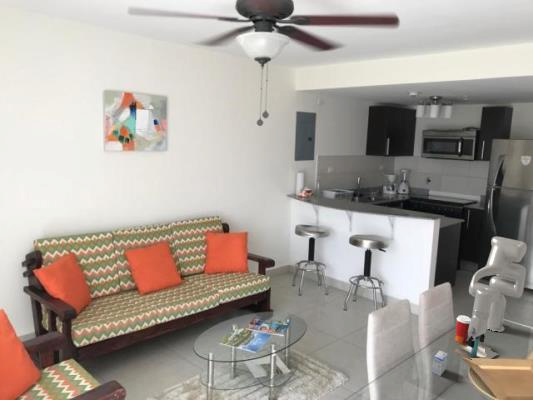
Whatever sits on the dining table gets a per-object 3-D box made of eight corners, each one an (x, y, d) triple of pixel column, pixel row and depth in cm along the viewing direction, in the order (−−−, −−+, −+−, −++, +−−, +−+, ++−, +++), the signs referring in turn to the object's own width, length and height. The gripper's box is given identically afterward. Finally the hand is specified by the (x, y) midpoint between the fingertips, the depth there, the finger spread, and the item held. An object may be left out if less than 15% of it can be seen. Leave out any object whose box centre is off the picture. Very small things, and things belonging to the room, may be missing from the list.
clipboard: (472, 343, 240) (473, 340, 240) (498, 355, 229) (498, 352, 229) (454, 351, 230) (455, 348, 229) (480, 364, 219) (481, 361, 218)
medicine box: (436, 366, 214) (439, 350, 213) (445, 369, 211) (448, 353, 210) (431, 372, 208) (433, 356, 206) (440, 376, 205) (443, 359, 204)
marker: (472, 353, 226) (476, 332, 224) (477, 356, 224) (481, 335, 222) (469, 355, 225) (473, 334, 222) (474, 358, 222) (478, 336, 220)
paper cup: (465, 339, 245) (469, 315, 242) (470, 345, 237) (474, 322, 234) (451, 337, 245) (455, 314, 243) (455, 344, 238) (459, 320, 235)
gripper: (482, 306, 228) (477, 336, 232) (464, 314, 218) (459, 345, 221) (496, 312, 222) (491, 342, 226) (479, 320, 212) (473, 352, 215)
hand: (475, 344), depth 224 cm, fingers open, 9 cm apart
